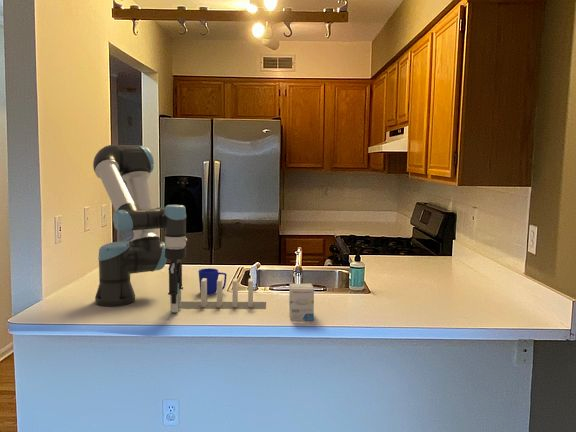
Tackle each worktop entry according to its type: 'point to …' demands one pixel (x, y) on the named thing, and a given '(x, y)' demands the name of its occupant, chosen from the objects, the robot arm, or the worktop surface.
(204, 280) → the domino
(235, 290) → the domino
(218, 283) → the domino
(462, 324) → the worktop surface
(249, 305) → the domino
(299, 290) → the ink box
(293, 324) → the worktop surface
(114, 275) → the robot arm
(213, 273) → the mug
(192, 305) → the mat
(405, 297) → the worktop surface
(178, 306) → the green domino
